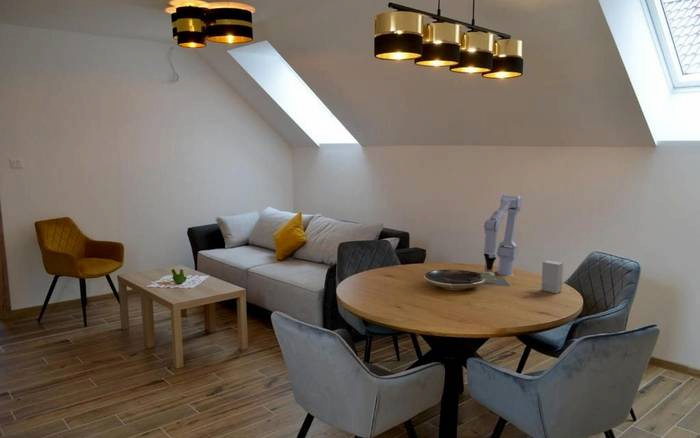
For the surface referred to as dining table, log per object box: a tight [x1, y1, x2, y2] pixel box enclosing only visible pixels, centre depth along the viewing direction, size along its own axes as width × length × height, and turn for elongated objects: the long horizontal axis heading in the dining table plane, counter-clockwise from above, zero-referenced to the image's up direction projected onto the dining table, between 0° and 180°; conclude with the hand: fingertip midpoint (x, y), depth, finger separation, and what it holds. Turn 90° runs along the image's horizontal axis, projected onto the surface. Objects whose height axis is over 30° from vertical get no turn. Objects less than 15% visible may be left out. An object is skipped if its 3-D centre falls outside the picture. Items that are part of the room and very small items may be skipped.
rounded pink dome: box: [484, 260, 495, 273], centre depth 277 cm, size 4×4×5 cm
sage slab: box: [480, 271, 496, 279], centre depth 277 cm, size 6×6×2 cm
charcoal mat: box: [480, 277, 511, 287], centre depth 278 cm, size 16×20×1 cm
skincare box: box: [541, 260, 564, 294], centre depth 264 cm, size 8×6×15 cm
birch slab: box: [479, 274, 497, 283], centre depth 278 cm, size 7×7×2 cm
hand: (488, 268), depth 277 cm, fingers closed on rounded pink dome, 4 cm apart
